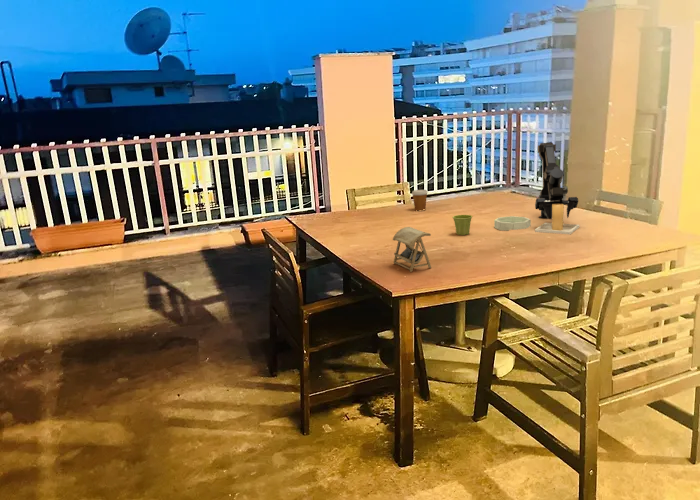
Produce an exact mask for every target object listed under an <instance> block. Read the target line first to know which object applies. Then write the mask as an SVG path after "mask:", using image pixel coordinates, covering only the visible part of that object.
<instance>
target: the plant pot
mask: <svg viewBox="0 0 700 500" xmlns="http://www.w3.org/2000/svg"><path fill="white" fill-rule="evenodd" d="M472 218H473V216H472V215H471V214H457V215H453V216H452V219H453V222H454V226H455V233H456V235H457V236H465V235H470V231H471V230H470V229H471V222H472Z"/></svg>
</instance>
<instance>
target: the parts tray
mask: <svg viewBox="0 0 700 500" xmlns="http://www.w3.org/2000/svg"><path fill="white" fill-rule="evenodd" d="M579 228H580V224H573V223H563V230H560V231H559V230H552V222H544V223H543V224H541V225H539V226H538V227H536V228H535V229H534V232H535V233H543V234H561V235H572V234H573V233H574V232H576V231H577V230H578V229H579Z"/></svg>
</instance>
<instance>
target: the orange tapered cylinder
mask: <svg viewBox="0 0 700 500" xmlns="http://www.w3.org/2000/svg"><path fill="white" fill-rule="evenodd" d="M564 207H565V205H564V204H560V203H556V204H552V218H551V223H552V230H559V231H560V230H563V224H564V212H565V211H564V209H565V208H564Z"/></svg>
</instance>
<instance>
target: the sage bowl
mask: <svg viewBox="0 0 700 500" xmlns="http://www.w3.org/2000/svg"><path fill="white" fill-rule="evenodd" d="M531 222H532V220H531V218H528V217H525V216H517V215H516V216H515V215H510V216H500V217H497V218H496V219H494V229H496V230H498V231H504V232H509V231H511V230H525V229H528V228H530V227H531V225H532V223H531Z"/></svg>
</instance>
